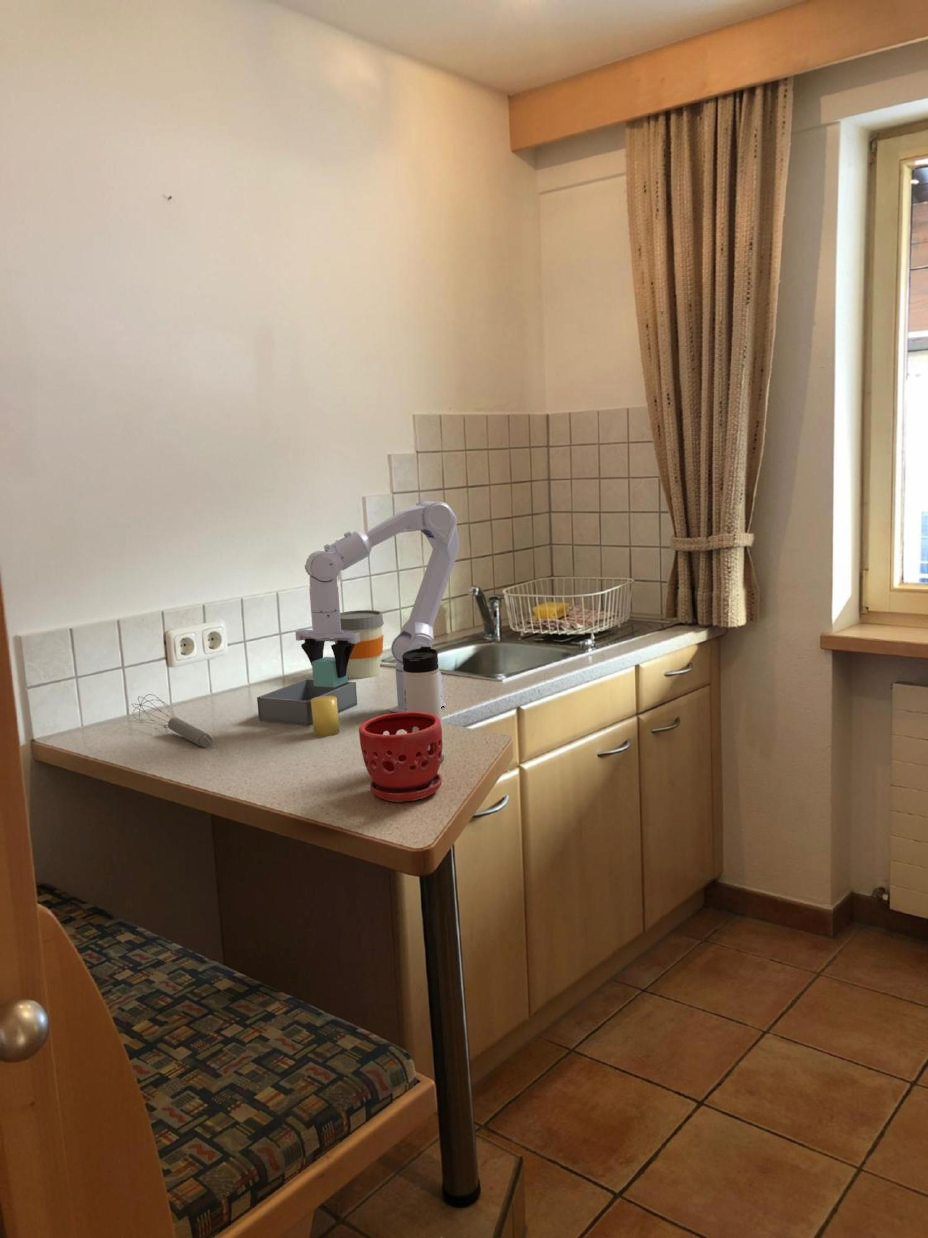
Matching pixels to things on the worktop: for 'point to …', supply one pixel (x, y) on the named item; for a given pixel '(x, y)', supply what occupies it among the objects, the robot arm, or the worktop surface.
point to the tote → (302, 701)
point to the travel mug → (422, 683)
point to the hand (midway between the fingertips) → (330, 676)
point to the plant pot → (402, 755)
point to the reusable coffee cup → (364, 642)
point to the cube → (326, 673)
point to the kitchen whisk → (181, 727)
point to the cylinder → (325, 716)
